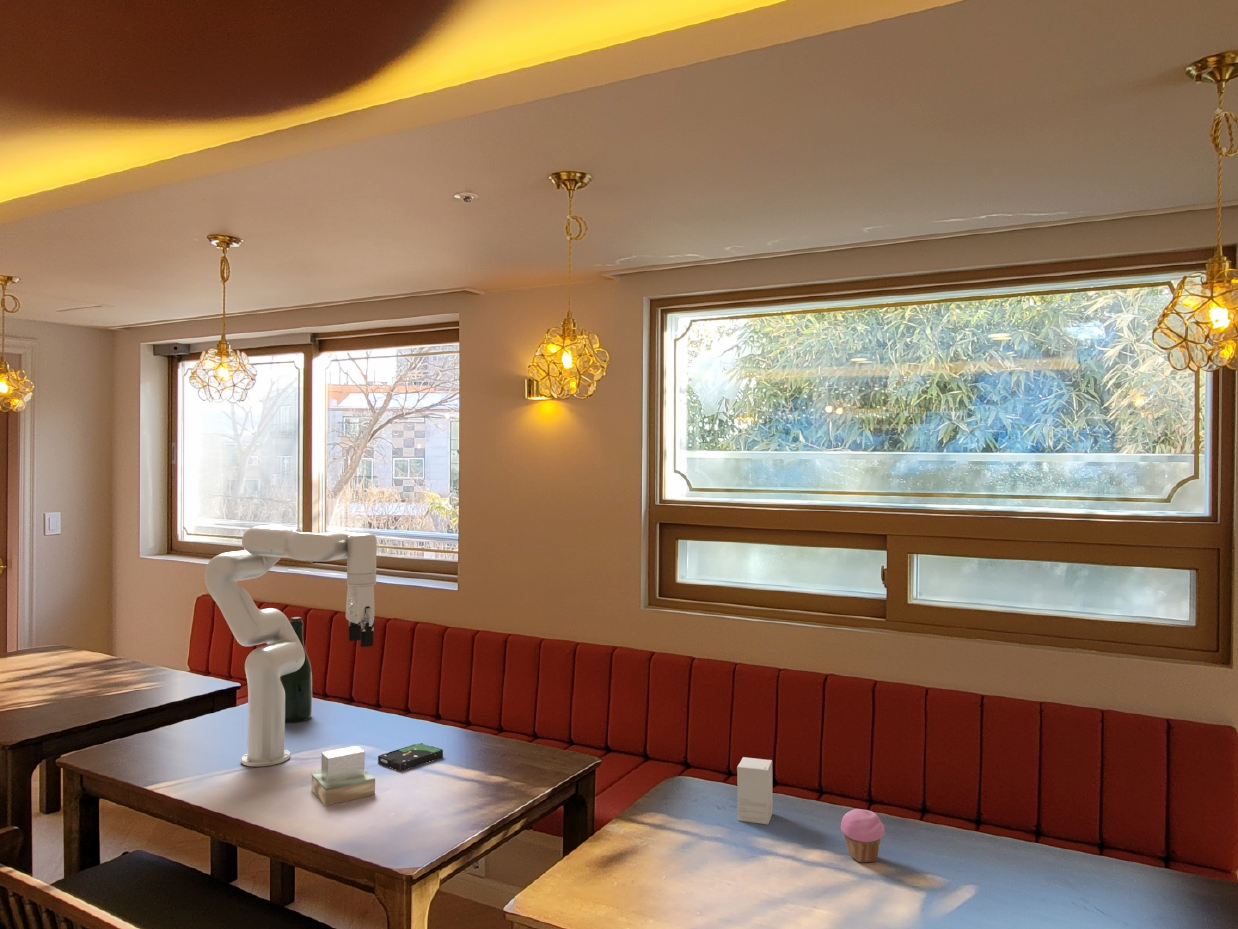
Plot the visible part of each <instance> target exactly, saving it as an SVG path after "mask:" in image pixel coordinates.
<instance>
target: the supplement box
mask: <svg viewBox="0 0 1238 929" xmlns="http://www.w3.org/2000/svg"><path fill="white" fill-rule="evenodd" d="M736 766H737V767H736V772H737V821H739V822H748V823H754V824H762V825H769V824H770V821H771V818H772V816H773V811H774V810H773V809H774V808H773V806H774V805H773V760H772V759H763V758H755V757H754V758H753V757H747V756H746V757H745V756H743V757H742V758H741V760H740V762H739V763H738V765H736Z"/></svg>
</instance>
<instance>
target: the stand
mask: <svg viewBox="0 0 1238 929" xmlns="http://www.w3.org/2000/svg"><path fill="white" fill-rule="evenodd" d="M311 792H313V794H315V795H316V797H319V798H320V799H321V800H320V799H319V798H318V799H319V800H320V801H321V802H322V803H323V804H324V805H325V806H329V804H330V805H333V804H332V803H334V804H337V803H342V802H347V801H352V800H356V799H361V798H366V797H370V796H373V795H376V778H375V776H373V775H372V773H370V772H368V771H367V770H366V769H365V768H364V776H360V777H355V778H350V779H345V780H341V781H336V782H331V783H327V782H326V781H325V780H324V779H323V778H322V777H321V771H319V772H316V773H315V772H314V773H311Z"/></svg>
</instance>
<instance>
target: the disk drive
mask: <svg viewBox="0 0 1238 929" xmlns="http://www.w3.org/2000/svg"><path fill="white" fill-rule="evenodd" d="M423 743H424V742H421V743H415V744H411V745H408V746H405V747H402V748H399V749H398V748H397V749H395V750H392V751H389V752H385V753H382V754H380V755H378V756H377V764H379V765H381V764H382V766H384V767H386V768H389V767H391V768H390V769H392V768H393V770H395V769H396V771H398V772H403V771H406V769H407V770H409V769H412V768H415V767H418V766H421V764H422V765H424V763H425V764H427V763H426V762H428V763H430V762H429V761H431V762H433V761H432V760H434V761H436V760H440V759H443V758H444V749H442V748H439V747H435V746H433V745H431V746H430V745H429V744H423ZM411 767H412V768H411ZM408 768H409V769H408ZM402 770H403V771H402Z"/></svg>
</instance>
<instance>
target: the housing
mask: <svg viewBox="0 0 1238 929" xmlns="http://www.w3.org/2000/svg"><path fill="white" fill-rule="evenodd" d="M365 755H366V752H365V750H363V749H362V748H361V747H360V746H358V745H355V746H348V747H343V748H337V749H331V750H327V751H322V752H321V767H320V768H321V770H320V772H321V777H322V778H323V779H324V780H325V781H326V782H327V783H331V782H336V781H341V780H345V779H350V778H355V777H360V776H364V769H365V766H366V765H365V761H366V760H365V759H366V758H365V757H366V756H365Z"/></svg>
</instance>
